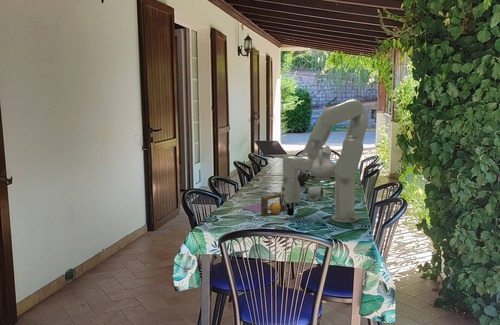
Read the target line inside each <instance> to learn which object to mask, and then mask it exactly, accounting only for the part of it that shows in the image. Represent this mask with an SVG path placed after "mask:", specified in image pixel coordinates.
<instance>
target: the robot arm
mask: <svg viewBox="0 0 500 325" xmlns="http://www.w3.org/2000/svg"><path fill="white" fill-rule="evenodd" d="M346 121H349V124H348V128H347V132H346V134H345V137H344V140H343V141H342V143H341V144H342V148H341V152H340V154H339V158H338V159H337V160H336V162H335V172H334V174H335V176H334V186H335V187H334V188H335V189H334V214H333V215H332V216H331V220H332V221H334V222H337V223H345V224H346V223H355V222H357V221H359V219H360V218H361V215H359V214H357V211H356V210H355V200H356V199H355V195H356V190H355V189H356V173H357V171H358V168H359V165H360V162H361V160H362V155H363V153H364V144H363V143H364V139H365V135H366V133H367V128H368V124H369V116H368V113H367V110H366V108H365V106H364V105H363V103H362V102H361V101H360V99H357V98H349V99H347V100H345V101H343V102H341V103H339V104H336V105H333V106H329V107H328V106H327V107H325V108H324V109H323V110H322V111H321V114H320V115H319V117H318V119H317V120H316V123H315V125H314V126H313V129H312V131H311V132H310V135H309V138H308V141H307V143H306V144H305V146H304V149H303V150H302V152H301V154H300V156H296V155H294V154H293V155H291V154H290V155H289V154H288V155H283V157H282V179H281V181H282V183H281V190H280V193H281V201H282V205H284V206H286V211H287V214H286V215H287V216H289V217H293V216H294V215H295V208H296V205H297V204H298V203H299V202H300V201H301V200H302V199H301V198H302V194H301V184H300V182H299V171H300V172H308V171H309V170H310V169H311V168H312V167H313V163H314V161H315V159H316V157H317V155H318V153H319V151H320V149H321V148H323V147H324V146H325V144H326V142H327V141H328V139H329V138H330V135H331V134H332V132H333V130H334V128H335V126H336V125H337V124H341V123H343V122H346ZM309 172H310V171H309Z"/></svg>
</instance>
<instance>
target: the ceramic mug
mask: <svg viewBox="0 0 500 325" xmlns="http://www.w3.org/2000/svg"><path fill="white" fill-rule="evenodd" d="M323 188H324V187H323V186H309V187H308V189H307V197H308V200H309V201H311V202H317V201H318V200H323V199H324V189H323Z"/></svg>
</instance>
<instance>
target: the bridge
mask: <svg viewBox="0 0 500 325" xmlns="http://www.w3.org/2000/svg"><path fill="white" fill-rule="evenodd" d="M277 198H279V205H280V207H281V210H280V212H283V213H284V212H286V211H287V207H286V206H284V205H282V201H281V192H279V193H275V194H270V195H266V196H265V195H264V196H261V197H260V204H261V211H260V216H263V217H267V216H269V211H268V207H269V206H268V205H269V204H268V202H269V200H272V199H277Z"/></svg>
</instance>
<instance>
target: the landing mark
mask: <svg viewBox="0 0 500 325" xmlns="http://www.w3.org/2000/svg"><path fill="white" fill-rule="evenodd" d="M269 207H270V206H268V210H269V211H270V209H269ZM241 209H243V210H245V211H250V212H252V213H261V203H258V204H257V203H256V204H253V205H247V206H246V205H245V206H241Z"/></svg>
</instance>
